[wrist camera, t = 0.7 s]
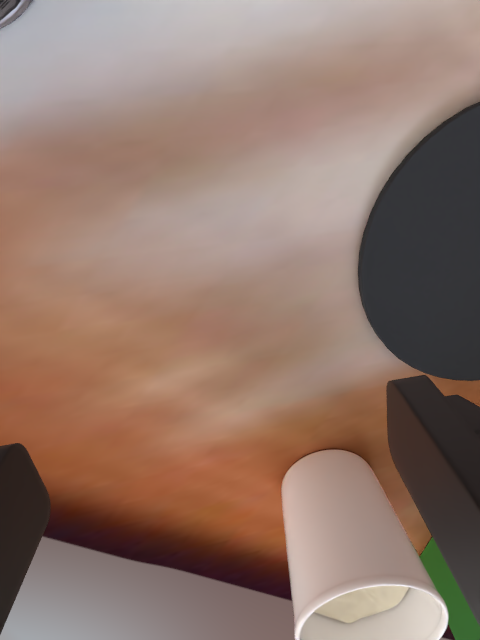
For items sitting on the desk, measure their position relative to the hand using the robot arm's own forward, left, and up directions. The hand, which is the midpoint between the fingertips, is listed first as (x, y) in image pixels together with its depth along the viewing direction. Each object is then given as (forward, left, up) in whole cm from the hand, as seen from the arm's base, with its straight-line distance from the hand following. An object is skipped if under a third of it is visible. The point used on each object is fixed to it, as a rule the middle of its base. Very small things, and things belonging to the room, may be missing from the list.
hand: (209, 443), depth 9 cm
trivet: (+7, +19, -20) cm, 28 cm away
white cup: (+25, +4, -20) cm, 32 cm away
